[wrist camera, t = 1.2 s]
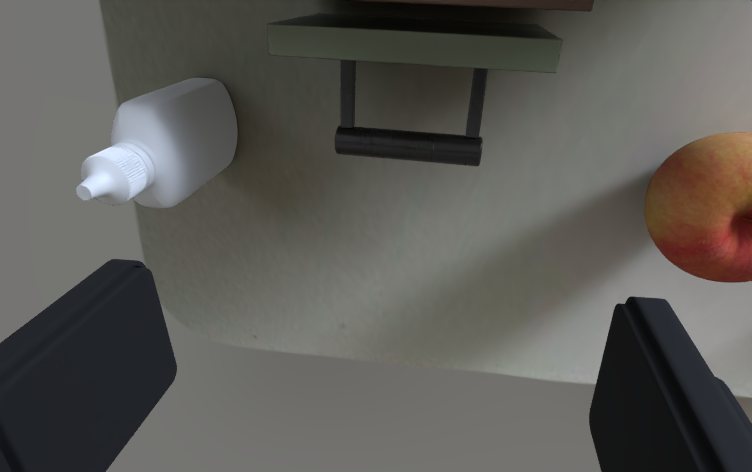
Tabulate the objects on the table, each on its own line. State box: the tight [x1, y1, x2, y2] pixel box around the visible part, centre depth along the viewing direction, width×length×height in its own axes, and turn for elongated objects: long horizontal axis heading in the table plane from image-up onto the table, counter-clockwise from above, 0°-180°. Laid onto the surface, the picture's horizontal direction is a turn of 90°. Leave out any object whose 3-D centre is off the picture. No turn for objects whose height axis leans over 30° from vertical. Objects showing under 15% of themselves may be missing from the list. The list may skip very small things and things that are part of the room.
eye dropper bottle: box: [76, 78, 238, 208], centre depth 26 cm, size 4×6×12 cm
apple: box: [645, 132, 752, 282], centre depth 24 cm, size 7×7×8 cm
